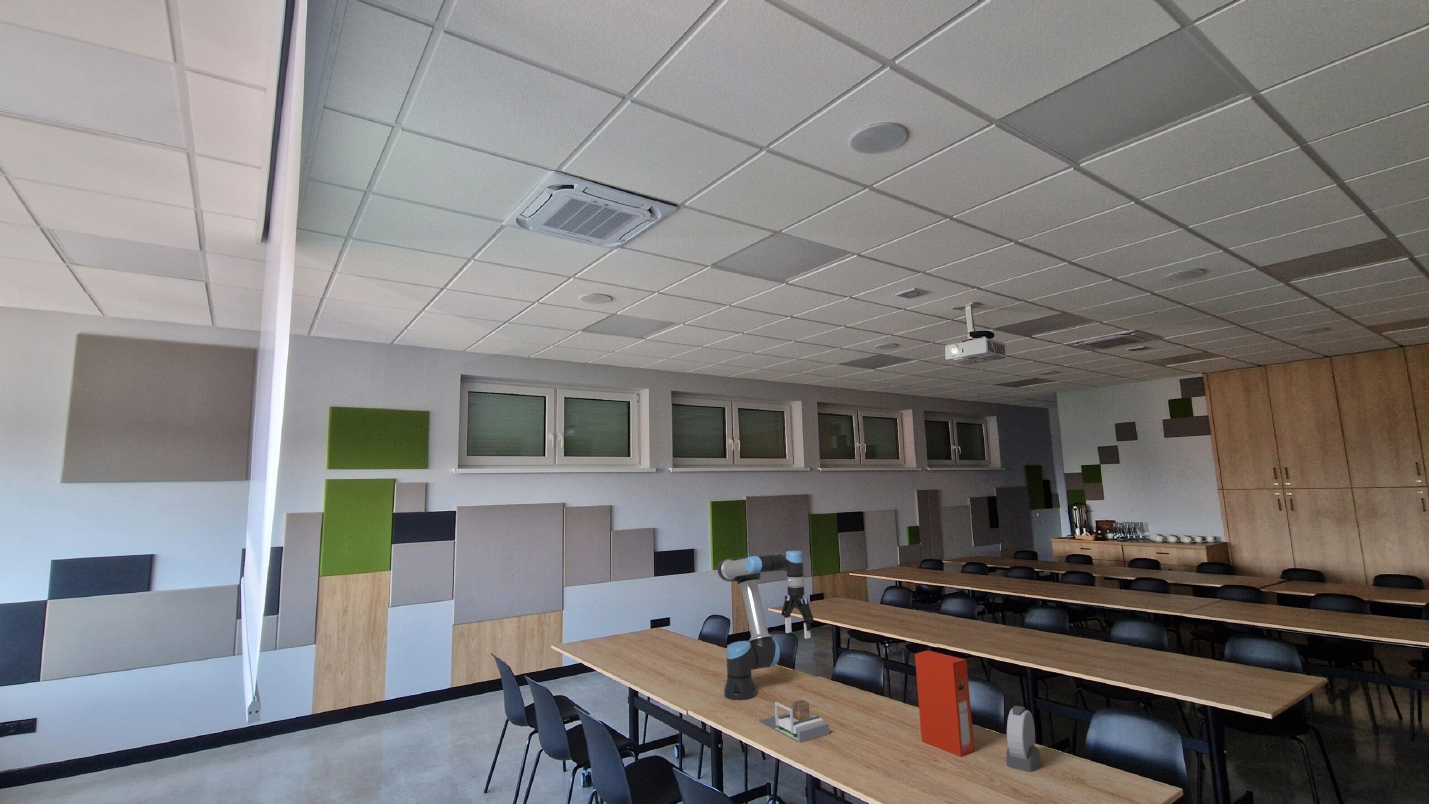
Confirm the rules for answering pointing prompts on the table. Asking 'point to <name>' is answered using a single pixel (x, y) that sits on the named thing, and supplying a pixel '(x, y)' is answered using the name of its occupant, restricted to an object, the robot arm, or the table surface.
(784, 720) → the white tray
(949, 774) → the table surface
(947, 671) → the file binder
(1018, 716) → the grey two-tone upright device
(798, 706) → the block
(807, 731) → the grey holder base
